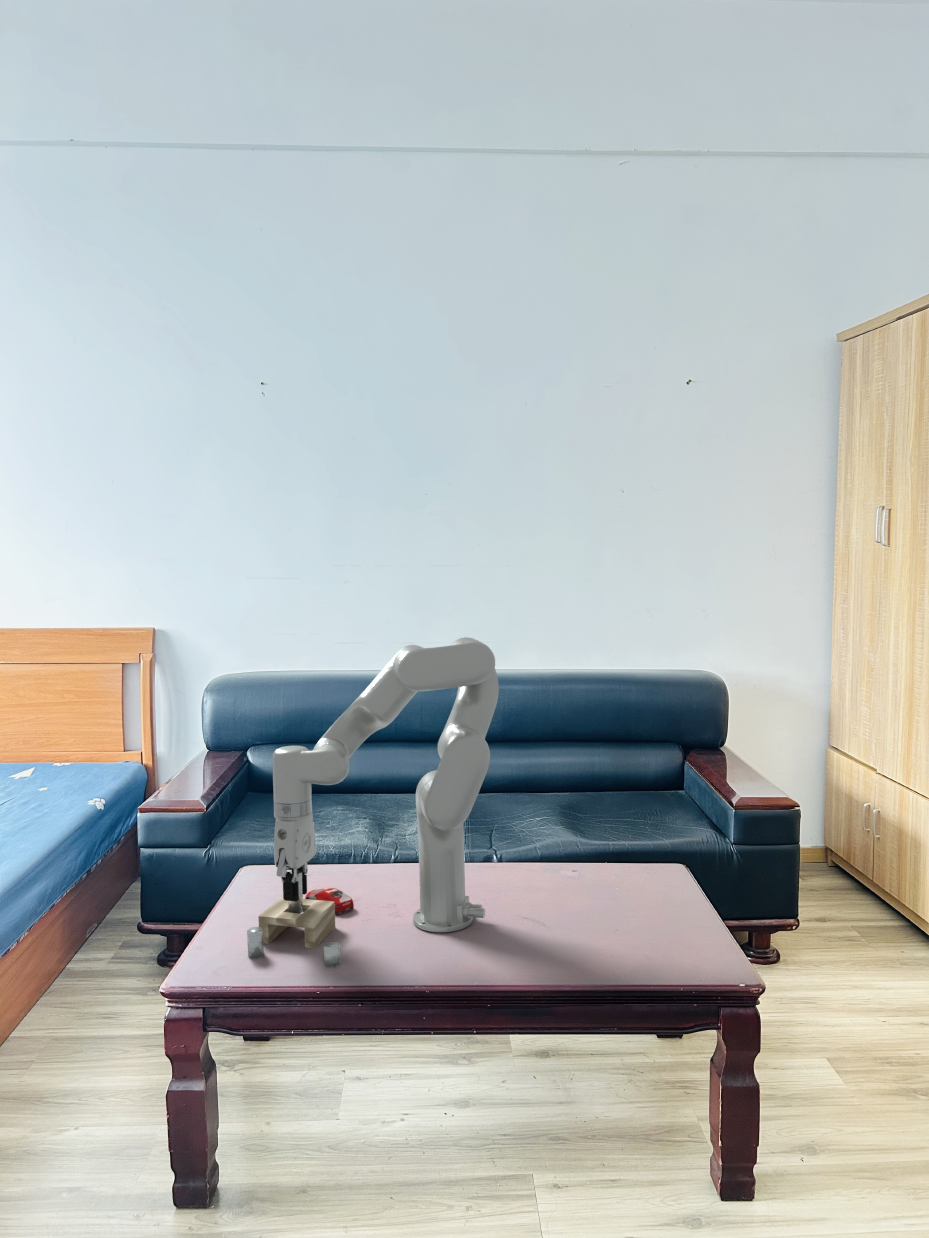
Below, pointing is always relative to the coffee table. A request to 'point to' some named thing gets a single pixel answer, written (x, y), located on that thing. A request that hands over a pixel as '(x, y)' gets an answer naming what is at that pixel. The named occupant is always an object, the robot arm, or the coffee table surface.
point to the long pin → (298, 906)
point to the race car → (333, 899)
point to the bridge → (299, 920)
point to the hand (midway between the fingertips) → (295, 896)
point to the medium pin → (255, 942)
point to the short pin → (331, 954)
